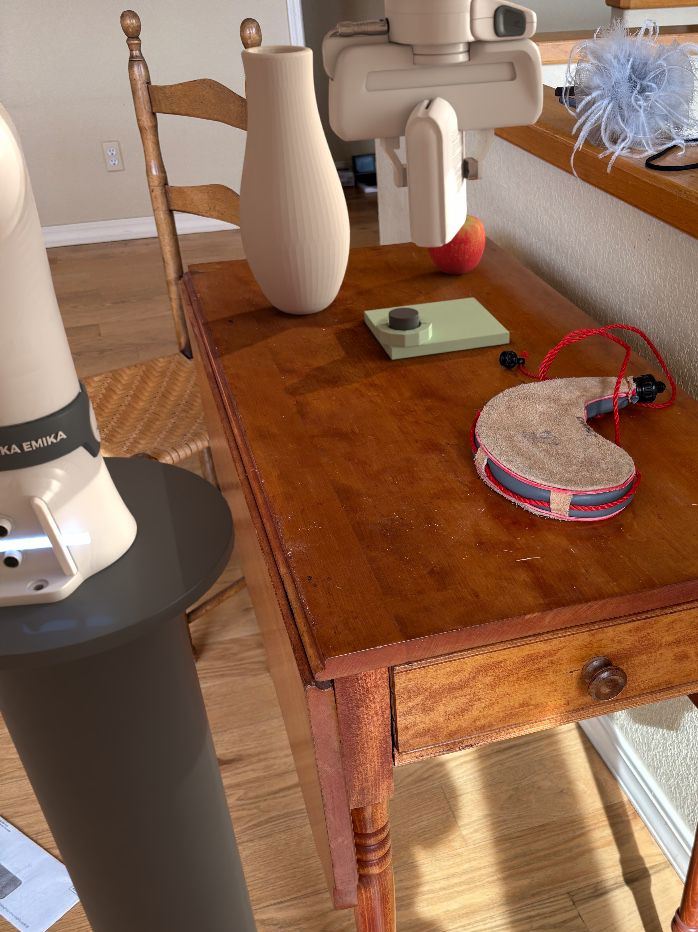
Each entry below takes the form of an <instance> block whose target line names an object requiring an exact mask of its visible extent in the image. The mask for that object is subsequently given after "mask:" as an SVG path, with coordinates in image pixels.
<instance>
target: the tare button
mask: <svg viewBox="0 0 698 932" xmlns="http://www.w3.org/2000/svg"><path fill="white" fill-rule="evenodd" d="M418 327H419V312H418V311H417V310H415V309H412V308H396V309H393V310H391V311H390V312H389V328H390V329H393V330H401V331H407V330H413V329H416V328H418Z"/></svg>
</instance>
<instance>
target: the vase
mask: <svg viewBox="0 0 698 932" xmlns="http://www.w3.org/2000/svg"><path fill="white" fill-rule="evenodd" d="M313 53H314V52H313V50H312V49H311V48H310V47H307V46H303V45H293V44H291V45H289V44H288V45H287V44H282V45H281V44H279V45H277V44H276V45H275V44H274V45H261V46H260V45H259V46H254V47H248V48H245V49H243V50H242V51H241V53H240V56H241V60H242V61H241V62H242V67H243V72H244V78H245V86H246V96H247V97H246V98H247V124H246V125H247V127H246V137H245V149H244V157H243V161H242V162H243V163H242V169H241V177H240V187H239V201H238V222H239V232H240V239H241V243H242V248H243V252H244V255H245V258H246V261H247V263H248V267H249V269H250V271H251V273H252V275H253V278H254V279H255V281H256V284H257V286H259V289H260V290H261V292H262V293H263V295H264V297H265V298H266V299H267V300H268V301H269V303H270V304H271V305H272V306H274V307H275V308H277V309H278V310H279V311H281V312H284V313H286V314H291V315H298V316H299V315H300V316H301V315H311V314H315V313H318V312H322V311H323V310H324V309H326V308H328V307H329V306H330V305H331V304H332V303H333V302H334V300H335V299H336V297H337V295H338V293H339V291H340V288H341V286H342V283H343V280H344V277H345V274H346V270H347V267H348V262H349V255H350V243H351V228H350V219H349V211H348V206H347V201H346V198H345V194H344V190H343V187H342V183H341V180H340V177H339V174H338V171H337V168H336V165H335V162H334V159H333V157H332V153H331V150H330V148H329V144H328V142H327V141H328V140H327V138H326V135H325V131H324V129H323V125H322V121H321V118H320V113H319V110H318V104H317V98H316V90H315V84H314V83H315V82H314V55H313Z"/></svg>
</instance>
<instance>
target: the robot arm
mask: <svg viewBox="0 0 698 932" xmlns="http://www.w3.org/2000/svg"><path fill="white" fill-rule="evenodd" d="M383 2H384V18H378V19H367V20H363V21H350V20H349V21H347V20H346V21H340V22H338V23H337V24H336V26H335V27H333V28H331V29H330V30H329V31H328V32H327V33H326V34H325V35H324V37H323V39H322V43H321V54H322V64H323V65H322V66H323V69H324V72H325V74H326V76H327V78H328V79H329V80H328V121H329V126H330V128H331V129H332V131H333V132H334V133H335V135H336V136H338V138H340V139H341V140H343V141H344V142H354V141H355V142H356V141H357V142H358V141H367V140H368V141H369V140H379V146H380V148H381V150H382V151H383V153H384V155H385V157H386V159H387V160H388V162H389V163H390V165H391V166H392V176H393V179H392V180H393V184H394V186H395V187H396V188H397V189H399V188H408V186H407V168H406V163H402V161H401V159H400V158H399V156H398V154H397V153H396V150H400V149H401V141H400V139H401V137H405V129H406V125H407V121H408V119H409V116H410V114H411V113H412V111H413V109H414V108H415V107H416V106H417V105H418V104H419V103H420V102H422V101H423V100H428V101H429V103H430V104H431V102H432V101H433V99H434V98H437V97H438V98H441V99H444V100H445V101H447V102H448V103H449V104H450V105H451V107H452V108H453V110H454V111H455V114H456V117H457V125H458V131H465V132H467V131H472V133H473V137H474V138H475V139H477V141H476V143H475V145H474V148H473V150H472V152H471V155H470V156H469V157H465V158H464V167H465V168H464V178H465V179H466V181H476V180H482V179H483V176H484V175H483V174H484V171H483V170H484V164H483V163H484V161H485V159H486V158H487V156H488V154H489V152H490V150H491V148H492V146H493V144H494V143H495V142H494V141H495V129H500V128H513V127H523V126H524V127H525V126H532V125H535V124H536V123H537V121H539V117H540V116H541V114H542V113H543V108H544V79H543V78H544V76H543V75H544V74H543V64H542V57H541V52H540V49H539V48H538V46H537V45H536V43H535V42H534V41H533V40H531V39H530V38H532V37H533V36H534V35H535V33H536V31H537V24H538V23H537V22H538V21H537V20H538V19H537V14H536V13H535V12H534V10H532V9H531V8H528V7H526V6H523V5H520V4H517V3H514V2H511V1H508V0H384V1H383ZM335 34H337V36H333V35H335ZM35 199H36V198H35V195H34V190H33V187H32V183H31V177H30V174H29V169H28V166H27V162H26V158H25V153H24V150H23V145H22V142H21V139H20V135H19V133H18V130H17V127H16V125H15V123H14V121H13V120H12V118H11V115H10V114H9V113H8V111H7V110H6V107H4V105H3V104H2V102H1V101H0V607H4V606H16V605H28V604H41V603H52V602H57V601H60V600H62V599H64V598H66V597H67V596H69V595H70V594H71V593H72V592H73V591H74V590H75V589H76V588H77V587H78V586H79V585H80V584H81V583H82V582H83V581H84V580H85V579H87V578H88V577H90V576H92V575H93V574H95V573H97V572H99V571H100V570H102V569H104V568H106V567H107V566H109V565H110V564H112V563H113V562H115V561H116V560H117V559H118V558H120V557H121V556H122V555H123V554H124V553H125V552H126V551H127V550H128V549H129V547H130V546H131V544H132V543H133V541H134V539H135V536H136V533H137V525H136V521H135V519H134V517H133V516H132V514H131V513H130V512H129V510H128V509H127V507H126V505H125V504H124V502H123V500H122V499H121V497H120V495H119V493H118V491H117V489H116V487H115V485H114V483H113V481H112V479H111V477H110V474H109V472H108V470H107V467H106V465H105V462H104V460H103V457H104V456H103V455H102V452H101V445H102V444H101V441H102V440H101V434H100V429H99V425H98V421H97V417H96V414H95V410H94V406H93V403H92V399H91V397H89V395H88V391H87V388H86V385H85V383H84V382H83V381H82V379H79V377H78V374H77V371H76V367H75V363H74V360H73V356H72V352H71V348H70V344H69V341H68V337H67V334H66V330H65V326H64V322H63V318H62V315H61V311H60V307H59V305H58V299H57V296H56V291H55V288H54V283H53V277H52V273H51V268H50V262H49V259H48V254H47V253H48V252H47V248H46V243H45V239H44V235H43V231H42V226H41V222H40V216H39V212H38V208H37V204H36V200H35Z"/></svg>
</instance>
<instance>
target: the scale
mask: <svg viewBox="0 0 698 932" xmlns="http://www.w3.org/2000/svg"><path fill="white" fill-rule="evenodd" d="M396 308H412V309H415V310H417V311H418V312H419V327H418V328H416V329H413V330H407V331H401V330H393V329H390V328H389V312H390V311H391V310H393V309H396ZM363 317H364V324H366V325H367V327H368V328H369V329H370V331H371V333H372V334H373V336H374V337H375V338H376V340H377V341H378V342H379V344H380V345H381V347H382V348H383V349H384V351H385V352H386V354H387V356H389V358H390V359H391V360H392V361H393V360H398V359H399V360H400V359H406V358H413V357H421V356H422V357H423V356H428V355H435V354H436V355H437V354H441V353H442V354H443V353H448V352H456V351H464V350H470V349H471V350H472V349H478V348H484V347H493V346H499V345H507V344H510V332H509V330H508V329H507V328H505V327H504V325H502V324H501V323H500V322H499V321H498V319H496V317H494V316H493V315H492V314H491V313H490V312H489V311H488V310H487V309H486V307H484V306H483V305H482V304H481V303H480V302H479V301H478V300H477V299H476V298H475V297H465V298H459V299H458V298H457V299H450V300H441V301H435V302H426V303H419V304H410V305H403V306H394V307H386V308H379V309H371V310H364V311H363Z"/></svg>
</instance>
